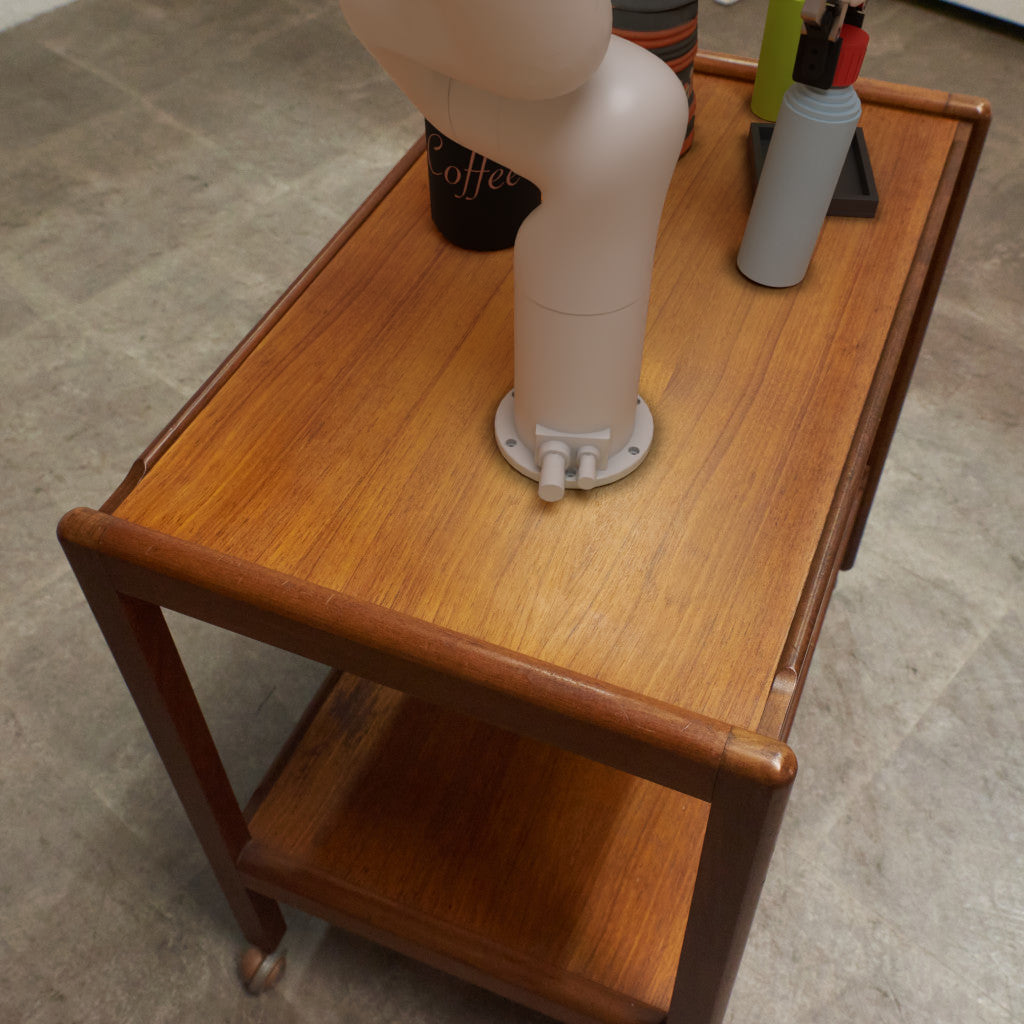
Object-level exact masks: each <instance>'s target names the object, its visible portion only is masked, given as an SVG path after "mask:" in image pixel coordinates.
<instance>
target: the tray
mask: <svg viewBox="0 0 1024 1024" xmlns="http://www.w3.org/2000/svg"><path fill="white" fill-rule="evenodd" d="M775 124H776V122H756V121H755V122H754V121H751V122H750V124H749V130H748V134H747V135H748V136H747V146H748V157H749V158H748V159H749V167H750V176H751V177H750V178H751V186H752V187H751V188H752V195H753V199H754V198H755V194H756V191H757V187H758V184H759V180H760V177H761V173H762V170H763V166H764V163H765V159H766V156H767V152H768V149H769V145H770V142H771V138H772V135H773V131H774V128H775ZM879 203H880V197H879V193H878V189H877V184H876V180H875V176H874V172H873V167H872V163H871V159H870V155H869V150H868V146H867V142H866V138H865V134H864V129H863V126H857V127H856V130H855V133H854V136H853V139H852V141H851V144H850V147H849V150H848V153H847V156H846V159H845V162H844V164H843V167H842V170H841V173H840V176H839V179H838V182H837V185H836V187H835V190H834V193H833V196H832V199H831V202H830V205H829V208H828V210H827V213H826V217H827V216H828V217H849V218H866V219H867V218H869V219H875V216H876V213H877V209H878V207H879Z"/></svg>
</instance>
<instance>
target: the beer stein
mask: <svg viewBox="0 0 1024 1024" xmlns="http://www.w3.org/2000/svg"><path fill="white" fill-rule="evenodd" d="M611 5H612V33H611V34H614V35H616V36H619V37H621V38H623V39H626V40H628V41H630V42H632V43H635V44H637V45H639V46H641V47H643V48H644V49H646V50H648V51H649V52H651V53H652V54H654V55H656V56H657V57H658V58H660V59H661V60H662V61H664V62H665V63H666V64H667V65H668V66H669V67H670V68H671V69H672V70H673V72H674V73H675V74H676V76H677V77H678V78H679V80H680V82H681V83H682V85H683V87H684V90H685V92H686V96H687V100H688V109H689V116H688V124H687V130H686V135H685V139H684V142H683V146H682V149H681V152H680V155H679V158H681V157H682V156H683V155H684V154H686V152H687V151H688V150H689V149H690V147H692V144H693V141H694V138H695V120H696V115H695V114H696V107H697V96H696V93H695V91H694V67H695V65H694V64H695V63H694V60H695V58H696V56H697V54H698V51H699V50H698V49H699V47H698V46H699V45H698V44H699V37H698V35H699V32H698V29H699V28H698V27H699V26H698V25H699V24H698V18H699V17H698V15H699V0H611Z"/></svg>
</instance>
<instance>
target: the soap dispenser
mask: <svg viewBox="0 0 1024 1024" xmlns="http://www.w3.org/2000/svg"><path fill="white" fill-rule="evenodd" d="M804 2H805V0H768V5H767V12H766V16H765V23H764V28H763V34H762V39H761V45H760V50H759V57H758V62H757V68H756V73H755V79H754V86H753V91H752V96H751V101H750V110H751V112H752V113H753V114H754V115H755V116H756V117H758V118H760V119H762V120H765V121H768V122H771V123H776V121H777V117H778V114H779V110H780V107H781V103H782V100H783V96H784V94H785V92H786V91H787V90H788V89H789V87H790V86H791V85H792V84H794V83H796V82H795V81H793V79H792V74H793V69H794V64H795V59H796V54H797V49H798V44H799V39H800V35H801V27H802V23H803V20H802V18H801V11H802V8H803V5H804ZM826 5H829V4H828V3H826Z"/></svg>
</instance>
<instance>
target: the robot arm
mask: <svg viewBox="0 0 1024 1024" xmlns="http://www.w3.org/2000/svg"><path fill="white" fill-rule="evenodd" d="M337 2H338V5H339V8H340V10H341V14H342V15H343V17H344V19H345V21H346V23H347V25H348V26H349V28H350V30H351V31H352V32H353V34H354V35H355V36H356V38H357V39H358V40H359V42H360V43H361V45H362V46H363V47H364V49H366V50H367V52H368V53H369V54H370V55H371V56H372V58H373V59H374V60H375V61H376V63H377V64H378V65H379V66H380V68H382V69H383V71H384V72H385V73H386V74H387V76H388V77H389V78H390V79H391V80H392V82H393V83H394V84H395V85H396V86H397V87H398V88H399V89H400V91H401V93H403V94H404V96H406V98H407V100H409V101H410V103H411V104H412V105H413V106H414V107H415V108H416V109H417V111H418V112H419V113H420V114H421V115H422V116H423V118H424V117H425V118H426V119H427V120H428V121H429V122H430V123H431V124H432V125H433V126H434V127H435V128H436V129H438V130H439V131H440V132H441V133H442V134H444V135H445V136H447V137H448V138H450V139H451V140H453V141H455V142H456V143H458V144H460V145H462V146H464V147H466V148H468V149H470V150H472V151H474V152H476V153H478V154H480V155H482V156H484V157H486V158H488V159H490V160H492V161H495V162H497V163H499V164H501V165H503V166H505V167H507V168H509V169H511V170H512V171H513V172H514V173H516V174H518V175H520V176H522V177H524V178H526V179H528V180H529V181H531V182H532V183H534V184H535V185H536V186H537V187H538V188H539V189H540V191H541V204H540V205H539V206H538V207H537V208H536V209H534V210H533V211H532V212H531V213H530V214H529V215H528V216H527V218H526V219H525V220H524V221H523V223H522V225H521V226H520V228H519V231H518V234H517V236H516V240H515V246H513V247H514V248H513V308H514V309H513V366H514V367H513V368H514V369H513V371H514V372H513V387H512V388H511V389H510V390H509V391H508V392H507V393H506V394H505V396H504V397H503V398H502V400H501V401H500V403H499V405H498V407H497V410H496V412H495V418H494V437H495V441H496V444H497V447H498V449H499V451H500V453H501V455H502V457H503V458H504V459H505V461H507V463H508V464H509V465H510V466H511V467H512V468H514V469H515V470H516V471H518V472H519V473H521V475H524V476H525V477H527V478H529V479H532V480H533V481H535V482H538V491H537V494H538V495H537V496H539V498H540V499H541V500H543V501H545V502H550V503H554V502H559V501H560V500H563V498H564V496H565V491H566V489H579V490H580V489H581V490H584V491H587V490H592V489H594V488H597V487H601V486H605V485H609V484H612V483H614V482H617V481H619V480H621V479H623V478H625V477H627V476H628V475H630V474H631V473H632V472H634V471H635V470H636V469H637V468H638V467H639V466H641V464H642V463H644V461H645V459H646V457H647V456H648V454H649V453H650V451H651V447H652V443H653V441H654V440H653V439H654V432H655V431H654V430H655V426H654V425H655V424H654V418H653V414H652V412H651V410H650V407H649V405H648V404H647V403H646V401H645V399H644V398H643V397H642V396H641V395H640V394H639V389H640V382H641V372H642V364H643V356H644V347H645V339H646V331H647V324H648V323H647V322H648V313H649V305H650V298H651V289H652V281H653V272H654V263H655V262H654V261H655V255H656V254H655V253H656V247H657V241H658V233H659V228H660V223H661V218H662V214H663V210H664V205H665V203H666V202H665V201H666V197H667V194H668V191H669V188H670V185H671V182H672V179H673V175H674V172H675V169H676V166H677V163H678V162H679V161H678V160H679V158H680V157H679V155H680V152H681V149H682V146H683V142H684V139H685V135H686V130H687V124H688V116H689V109H688V100H687V96H686V92H685V90H684V87H683V85H682V83H681V82H680V80H679V78H678V77H677V76H676V74H675V73H674V72H673V70H672V69H671V68H670V67H669V66H668V65H667V64H666V63H665V62H664V61H662V60H661V59H660V58H658V57H657V56H656V55H654V54H652V53H651V52H649V51H648V50H646V49H644V48H643V47H641V46H639V45H637V44H635V43H632V42H630V41H628V40H626V39H623V38H621V37H619V36H616V35H614V34H611V33H612V5H611V0H337ZM826 3H828V5H826ZM868 4H869V0H805V2H804V5H803V8H802V11H801V18H802V20H803V23H802V27H801V35H800V39H799V44H798V49H797V54H796V59H795V64H794V69H793V74H792V79H793V81H795V82H798V83H801V84H805V85H808V86H812V87H816V88H819V89H823V90H828V89H829V88H830V87H831V86H832V84H833V81H834V76H835V72H836V68H837V64H838V60H839V55H840V51H841V47H842V43H843V38H840V37H839V36H840V32H841V29H842V25H843V23H844V24H849V25H853V26H856V27H858V28H860V29H862V30H863V24H864V21H865V17H866V14H865V13H864V12H865V11H866V9H867V7H868Z"/></svg>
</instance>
